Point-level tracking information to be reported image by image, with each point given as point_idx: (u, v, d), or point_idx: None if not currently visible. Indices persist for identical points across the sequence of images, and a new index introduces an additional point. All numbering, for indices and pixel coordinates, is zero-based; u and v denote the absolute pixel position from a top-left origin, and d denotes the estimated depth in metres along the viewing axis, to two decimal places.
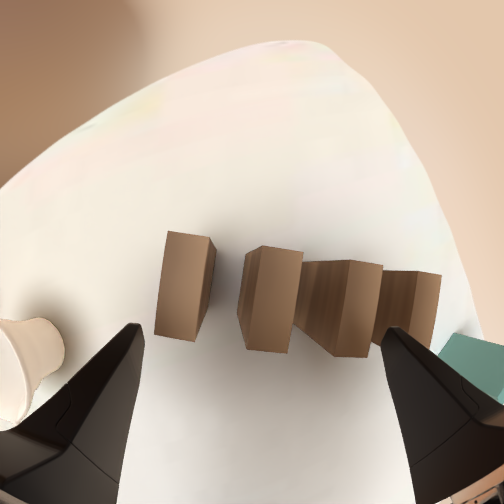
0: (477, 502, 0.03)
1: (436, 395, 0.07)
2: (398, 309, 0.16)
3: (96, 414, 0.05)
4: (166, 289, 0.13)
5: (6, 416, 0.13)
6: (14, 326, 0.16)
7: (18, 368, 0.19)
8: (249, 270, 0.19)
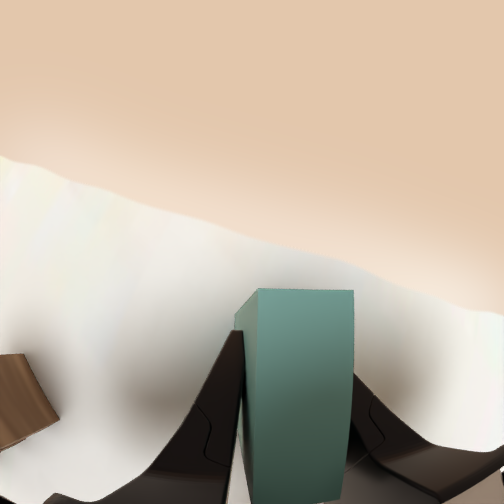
0: None
1: None
2: None
3: (236, 430, 0.06)
4: None
5: None
6: None
7: None
8: None
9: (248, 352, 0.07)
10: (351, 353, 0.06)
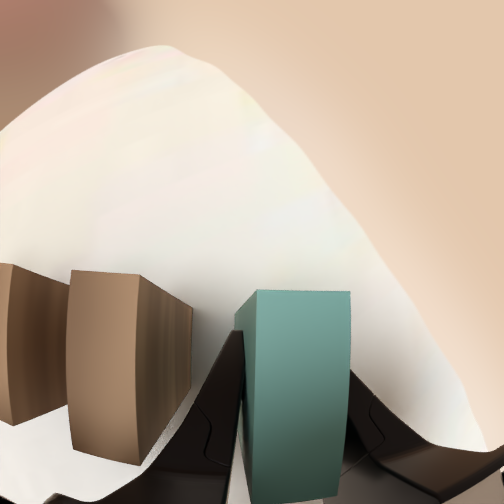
0: None
1: None
2: None
3: (236, 430, 0.06)
4: None
5: None
6: None
7: None
8: None
9: (247, 351, 0.07)
10: (348, 353, 0.06)
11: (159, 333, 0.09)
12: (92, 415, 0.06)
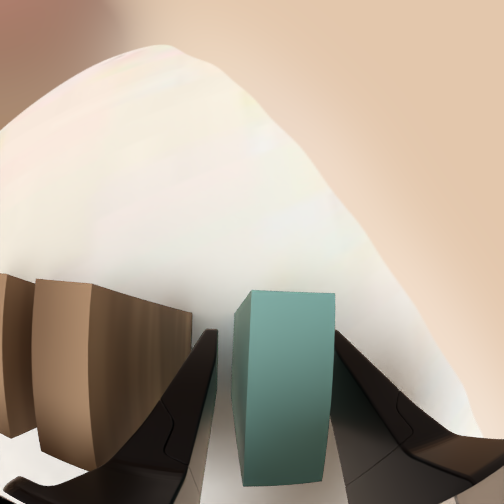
0: None
1: (365, 411, 0.06)
2: None
3: (200, 429, 0.06)
4: None
5: None
6: None
7: None
8: None
9: (243, 346, 0.08)
10: (332, 349, 0.07)
11: (130, 342, 0.08)
12: (54, 420, 0.05)
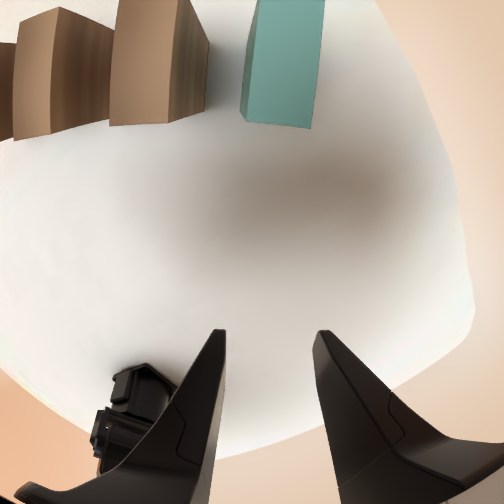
0: None
1: (356, 413, 0.06)
2: None
3: (211, 430, 0.06)
4: None
5: None
6: None
7: None
8: None
9: (254, 28, 0.08)
10: (321, 24, 0.07)
11: (187, 34, 0.09)
12: (131, 86, 0.07)
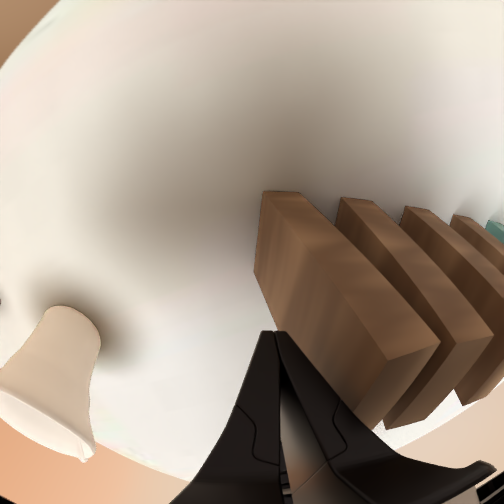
0: None
1: (300, 420, 0.06)
2: None
3: None
4: (359, 414, 0.07)
5: (70, 452, 0.14)
6: (37, 368, 0.12)
7: None
8: None
9: None
10: None
11: None
12: None
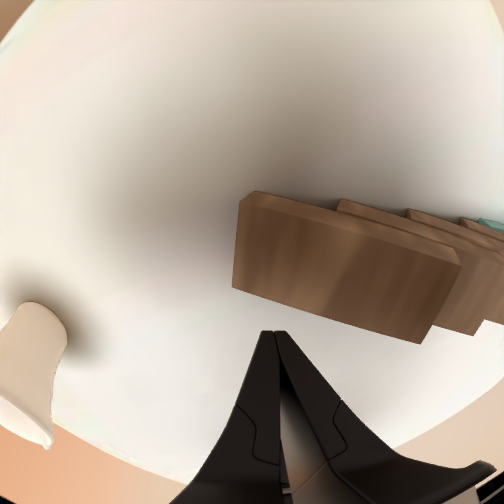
0: None
1: (300, 419, 0.06)
2: None
3: None
4: None
5: (36, 439, 0.14)
6: (2, 357, 0.12)
7: None
8: None
9: None
10: None
11: None
12: None
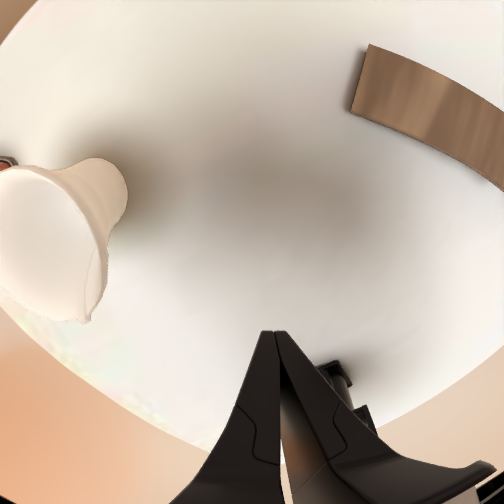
0: None
1: (300, 419, 0.06)
2: None
3: None
4: None
5: (68, 314, 0.13)
6: (61, 172, 0.12)
7: (67, 237, 0.17)
8: None
9: None
10: None
11: None
12: None
